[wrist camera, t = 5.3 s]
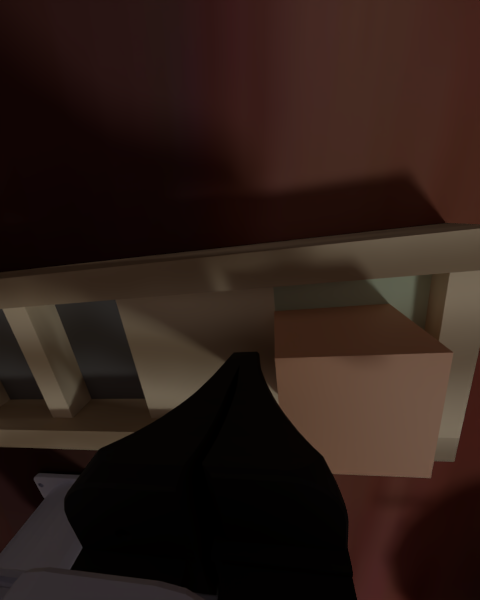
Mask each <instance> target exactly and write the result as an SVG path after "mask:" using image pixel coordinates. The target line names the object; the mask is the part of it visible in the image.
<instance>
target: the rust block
mask: <svg viewBox="0 0 480 600" xmlns="http://www.w3.org/2000/svg"><path fill="white" fill-rule="evenodd" d="M274 335H275V367H276V378H277V390H278V401H279V406H280V408H281V409H282V411H283V412H284V414H285V415H286V416H287V417H288V419H289V420H290V421H291V423H292V424H293V425H294V426H295V428H296V429H297V430H298V431H299V432H300V433H301V434H302V436H303V437H304V438H305V439H306V440H307V441H308V442H309V443H310V444H311V445H312V446H313V447H314V448H315V449H316V450H317V451H318V452H319V453H320V454H321V455H322V456H323V457H324V459H325V461H326V463H327V465H328V466H329V468H330V470H331V472H332V474H348V475H372V476H396V477H419V478H431V474H432V468H433V463H434V457H435V452H436V446H437V441H438V435H439V430H440V425H441V419H442V414H443V408H444V403H445V397H446V392H447V386H448V381H449V375H450V370H451V364H452V359H453V353H454V352H452V351H451V350H450V349H448V348H447V347H446V346H444V345H443V344H442V343H440V342H439V341H438V340H436V339H435V338H434V337H433V336H431V335H430V334H429V333H427V332H426V331H425V330H423V329H422V328H421V327H419V326H418V325H417V324H415V323H414V322H413V321H411V320H410V319H409V318H408V317H406V316H405V315H404V314H402V313H401V312H400V311H398V310H397V309H396V308H394V307H393V306H392V305H390V304H376V305H361V306H345V307H330V308H315V309H299V310H284V311H274Z"/></svg>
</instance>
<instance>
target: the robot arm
mask: <svg viewBox="0 0 480 600" xmlns="http://www.w3.org/2000/svg"><path fill="white" fill-rule="evenodd" d="M34 481H35V483H36V485H37V487H38V489H39V490H40V492H41V494H42V496H43V498H44V500H43V501H42V503H41V504H40V505H39V506H38V508H37V509H36V510H35V511H34V513H33V514H32V515H31V516H30V517H29V519H28V520H27V521H26V522H25V524H24V525H23V526H22V527H21V529H20V530H19V531H18V532H17V534H16V535H15V536H14V537H13V539H12V540H11V541H10V542H9V544H8V545H7V546H6V547H5V548H4V550H3V551H2V552H1V553H0V600H357V597H356V593H355V588H354V583H353V579H352V577H353V571H352V565H351V561H350V556H349V552H348V514H347V509H346V506H345V503H344V500H343V497H342V495H341V492H340V490H339V487H338V485H337V483H336V481H335V479H334V476H333V474H332V472H331V470H330V468H329V466H328V465H327V463H326V461H325V459H324V457H323V456H322V455H321V454H320V453H319V452H318V451H317V450H316V449H315V448H314V447H313V446H312V445H311V444H310V443H309V442H308V441H307V440H306V439H305V438H304V437H303V436H302V434H301V433H300V432H299V431H298V430H297V429H296V428H295V426H294V425H293V424H292V423H291V421H290V420H289V419H288V417H287V416H286V415H285V414H284V412H283V411H282V409H281V408H280V406H279V405H278V403H277V401H276V400H275V398H274V396H273V395H272V393H271V391H270V389H269V387H268V385H267V383H266V380H265V378H264V375H263V373H262V370H261V364H260V355H259V353H258V352H234V353H233V354H232V355H231V356H230V357H229V358H228V359H227V360H226V361H225V363H224V364H223V365H222V366H221V367H220V368H219V369H218V370H217V372H216V373H215V374H214V375H213V376H212V377H211V378H210V379H209V380H208V381H207V382H206V383H205V384H204V385H203V386H202V387H201V388H200V389H198V390H197V391H196V392H195V393H194V394H193V395H191V396H190V397H189V398H188V399H186V400H185V401H184V402H182V403H181V404H180V405H178V406H177V407H175V408H174V409H172V410H171V411H169V412H168V413H166V414H165V415H164V416H162V417H160V418H159V419H157V420H155V421H154V422H152V423H150V424H149V425H147V426H145V427H143V428H141V429H140V430H138V431H136V432H134V433H132V434H130V435H128V436H126V437H124V438H122V439H119V440H117V441H115V442H113V443H111V444H109V445H107V446H104V447H102V448H100V449H99V450H98V452H97V453H96V454H95V455H94V457H93V458H92V459H91V461H90V462H89V464H88V465H87V466H86V468H85V469H84V470H83V472H82V473H81V474H80V475H71V474H52V473H38V474H37V475H36V476H35V477H34Z"/></svg>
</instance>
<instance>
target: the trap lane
mask: <svg viewBox="0 0 480 600" xmlns="http://www.w3.org/2000/svg"><path fill="white" fill-rule="evenodd" d="M376 304H390V305H392V306H393V307H394V308H396V309H397V310H398V311H400V312H401V313H402V314H404V315H405V316H406V317H408V318H409V319H410V320H411V321H413V322H414V323H415V324H417V325H418V326H419V327H421V328H422V329H423V330H425V331H426V332H427V333H429V334H430V335H431V336H433V337H434V338H435V339H436V340H438V341H439V342H440V343H442V344H443V345H444V346H446V347H447V348H448V349H450V350H451V351H452V352H454V353H453V359H452V364H451V370H450V375H449V381H448V386H447V392H446V397H445V403H444V408H443V414H442V419H441V425H440V430H439V435H438V441H437V446H436V452H435V457H434V461H451V462H454V460H455V456H456V451H457V447H458V442H459V438H460V433H461V429H462V424H463V420H464V415H465V411H466V406H467V402H468V397H469V393H470V388H471V384H472V379H473V375H474V370H475V366H476V361H477V357H478V352H479V348H480V224H458V223H442V224H433V225H424V226H415V227H406V228H397V229H388V230H379V231H370V232H361V233H352V234H343V235H334V236H325V237H316V238H306V239H297V240H288V241H279V242H270V243H261V244H252V245H243V246H234V247H225V248H216V249H207V250H198V251H189V252H180V253H171V254H162V255H153V256H144V257H135V258H125V259H116V260H107V261H98V262H89V263H80V264H71V265H62V266H53V267H44V268H35V269H26V270H17V271H8V272H0V447H20V448H51V449H81V450H99V449H100V448H102V447H104V446H107V445H109V444H111V443H113V442H115V441H117V440H119V439H122V438H124V437H126V436H128V435H130V434H132V433H134V432H136V431H138V430H140V429H141V428H143V427H145V426H147V425H149V424H150V423H152V422H154V421H155V420H157V419H159V418H160V417H162V416H164V415H165V414H166V413H168V412H169V411H171V410H172V409H174V408H175V407H177V406H178V405H180V404H181V403H182V402H184V401H185V400H186V399H188V398H189V397H190V396H191V395H193V394H194V393H195V392H196V391H197V390H198V389H200V388H201V387H202V386H203V385H204V384H205V383H206V382H207V381H208V380H209V379H210V378H211V377H212V376H213V375H214V374H215V373H216V372H217V370H218V369H219V368H220V367H221V366H222V365H223V364H224V363H225V361H226V360H227V359H228V358H229V357H230V356H231V355H232V354H233V353H234V352H258V353H259V355H260V364H261V370H262V373H263V375H264V378H265V380H266V383H267V385H268V387H269V389H270V391H271V393H272V395H273V396H274V398H275V400H276V401H277V403H278V405H279V401H278V390H277V378H276V367H275V335H274V311H284V310H299V309H315V308H330V307H345V306H361V305H376Z"/></svg>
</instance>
